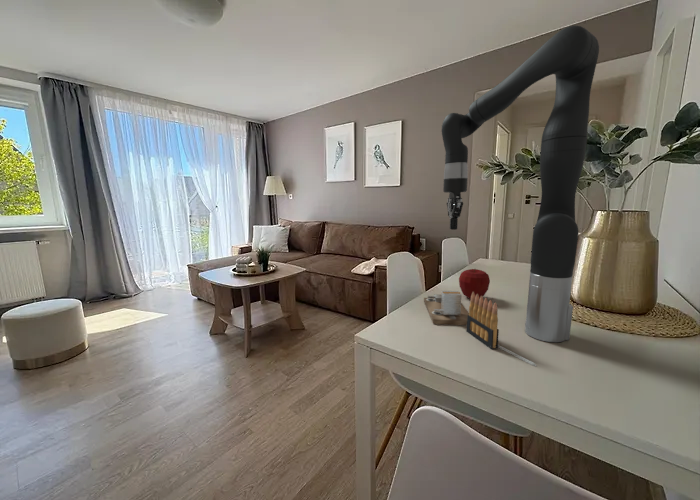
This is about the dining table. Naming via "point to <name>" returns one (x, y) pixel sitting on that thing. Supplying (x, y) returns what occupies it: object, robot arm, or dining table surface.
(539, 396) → the dining table surface
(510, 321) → the dining table surface
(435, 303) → the sliding latch plate
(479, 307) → the ammunition clip
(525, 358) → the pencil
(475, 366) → the dining table surface
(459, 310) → the grey latch block
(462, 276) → the apple
